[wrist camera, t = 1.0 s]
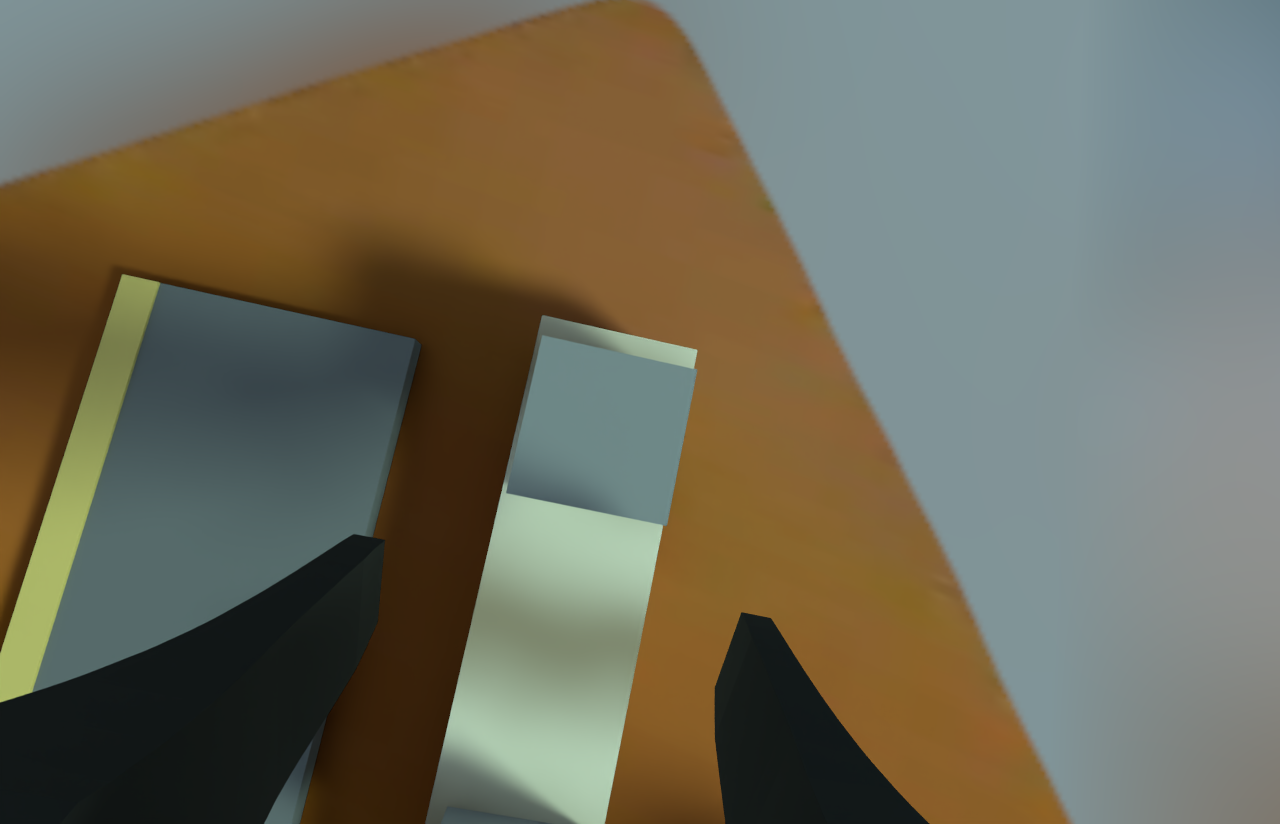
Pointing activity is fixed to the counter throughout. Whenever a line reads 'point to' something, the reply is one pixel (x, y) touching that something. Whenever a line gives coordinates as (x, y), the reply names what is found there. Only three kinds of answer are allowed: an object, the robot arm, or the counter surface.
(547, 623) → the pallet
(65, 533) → the dock
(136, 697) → the robot arm
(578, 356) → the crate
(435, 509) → the counter surface
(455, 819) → the block
